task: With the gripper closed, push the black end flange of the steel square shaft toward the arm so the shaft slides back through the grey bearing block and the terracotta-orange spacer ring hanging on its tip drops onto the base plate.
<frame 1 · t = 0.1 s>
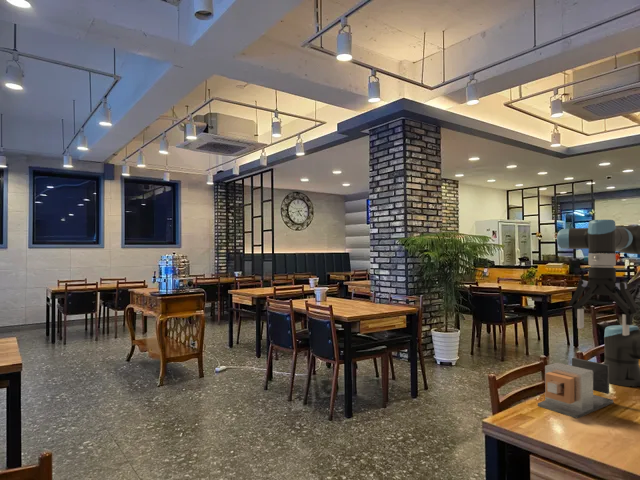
hand: (602, 331, 139), 28 cm above the table, fingers open, 13 cm apart
bearing block: (568, 407, 146), on the table
shaft: (572, 381, 148), point 9 cm above the table, slide at 0.0 cm, touching spacer
spacer: (559, 399, 143), point 4 cm above the table, touching shaft
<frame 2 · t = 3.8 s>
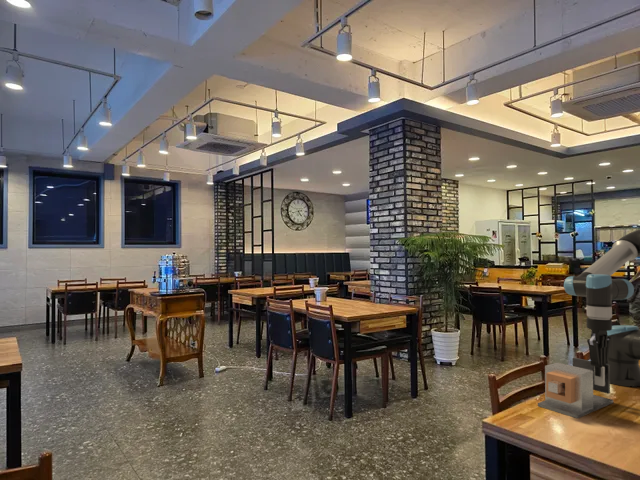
hand: (599, 385, 149), 7 cm above the table, fingers closed
shaft: (573, 380, 148), point 9 cm above the table, slide at 0.5 cm, touching gripper
spacer: (560, 399, 143), point 4 cm above the table
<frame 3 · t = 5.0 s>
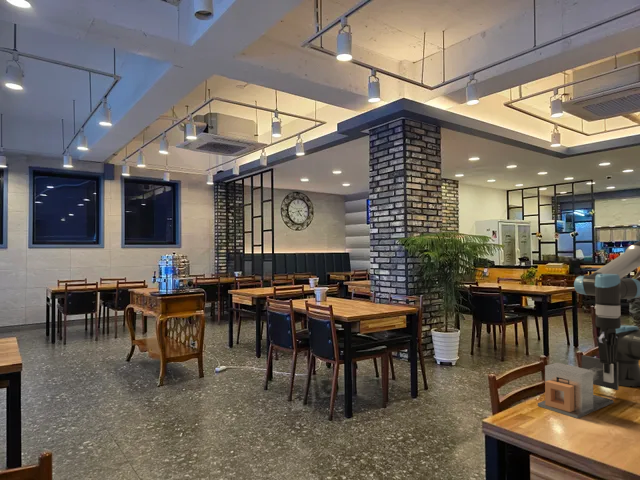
hand: (608, 381, 153), 7 cm above the table, fingers closed
shaft: (582, 377, 152), point 9 cm above the table, slide at 7.5 cm, touching gripper
spacer: (559, 407, 143), point 1 cm above the table, touching bearing block
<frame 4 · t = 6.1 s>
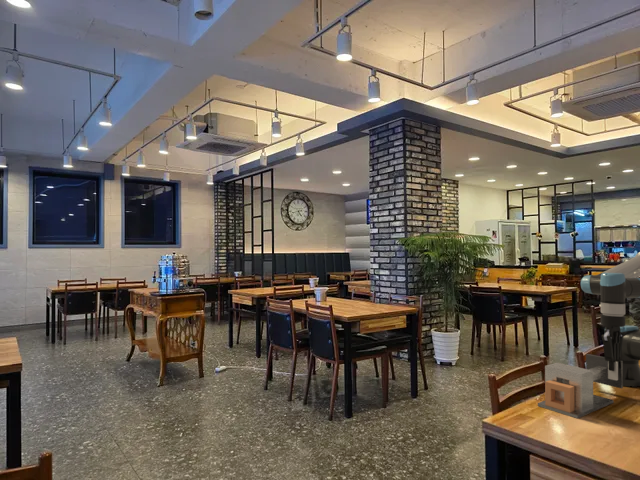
hand: (613, 379, 155), 7 cm above the table, fingers closed
shaft: (587, 376, 154), point 8 cm above the table, slide at 11.1 cm, touching gripper
everything else where it was.
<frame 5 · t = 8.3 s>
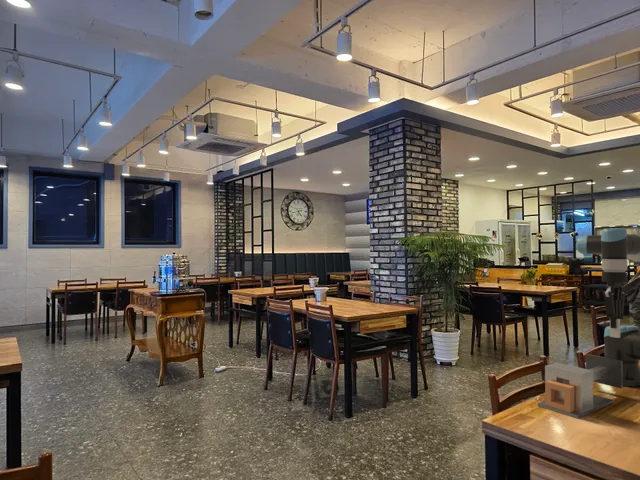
hand: (615, 336, 152), 23 cm above the table, fingers closed
shaft: (587, 376, 154), point 9 cm above the table, slide at 11.0 cm
everything else where it was.
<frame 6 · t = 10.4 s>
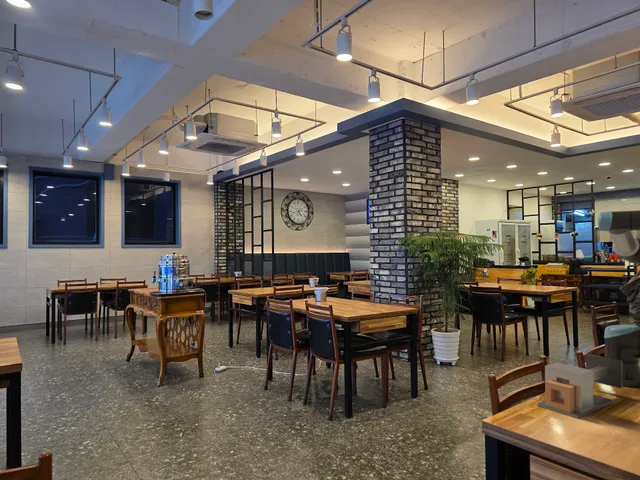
nothing on the table moved.
at the end: shaft slide at 11.0 cm; spacer point 1.0 cm above the table; spacer touching bearing block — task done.
